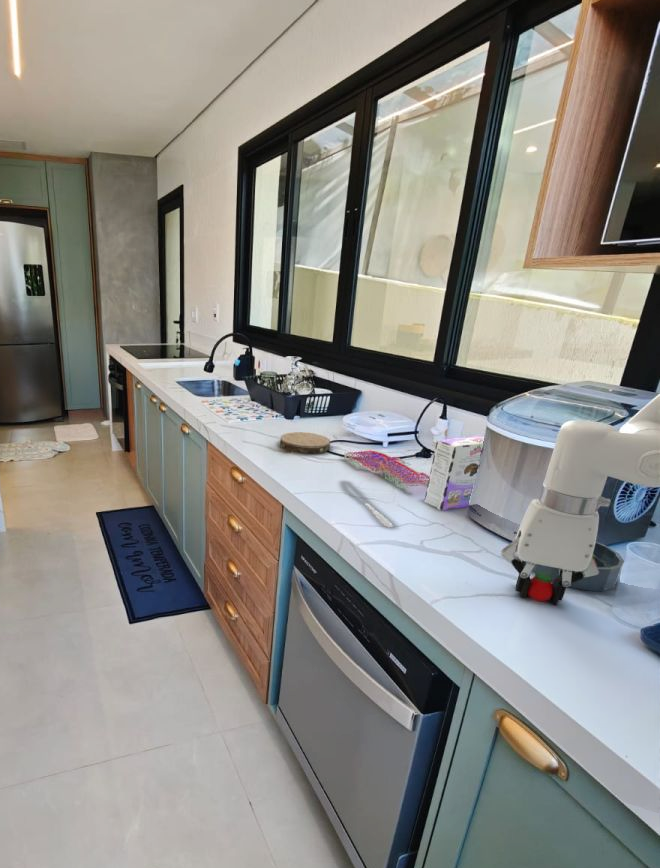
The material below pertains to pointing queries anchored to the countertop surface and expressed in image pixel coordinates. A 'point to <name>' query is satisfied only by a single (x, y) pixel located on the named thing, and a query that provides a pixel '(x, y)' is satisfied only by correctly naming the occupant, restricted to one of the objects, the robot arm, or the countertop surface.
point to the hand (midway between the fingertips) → (536, 597)
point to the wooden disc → (304, 443)
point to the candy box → (453, 472)
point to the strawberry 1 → (540, 587)
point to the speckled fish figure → (393, 467)
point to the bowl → (607, 567)
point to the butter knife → (380, 516)
